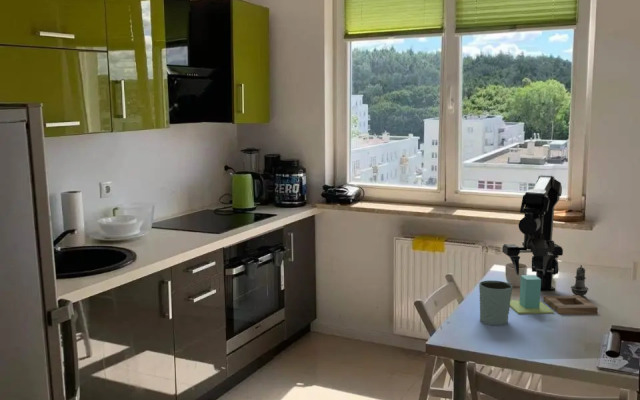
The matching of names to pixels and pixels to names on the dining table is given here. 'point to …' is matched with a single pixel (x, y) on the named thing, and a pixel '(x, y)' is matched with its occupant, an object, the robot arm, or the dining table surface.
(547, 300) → the frame
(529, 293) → the teal peg
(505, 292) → the green cup
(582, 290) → the dark grey upright piece
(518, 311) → the olive mat
